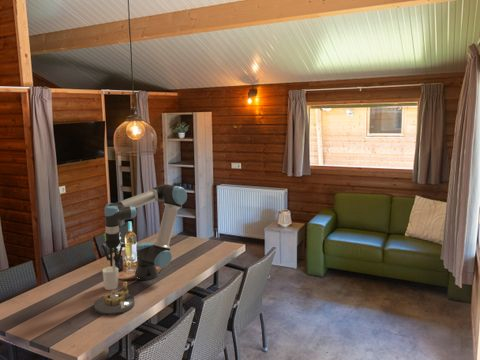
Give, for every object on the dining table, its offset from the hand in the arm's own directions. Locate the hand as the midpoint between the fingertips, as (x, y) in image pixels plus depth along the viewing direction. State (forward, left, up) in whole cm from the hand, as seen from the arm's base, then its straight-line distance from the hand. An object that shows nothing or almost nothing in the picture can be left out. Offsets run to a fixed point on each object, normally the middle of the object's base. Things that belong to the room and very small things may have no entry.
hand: (114, 270), depth 242 cm
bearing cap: (+8, +6, -18) cm, 20 cm away
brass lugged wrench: (+5, +6, -14) cm, 16 cm away
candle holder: (-12, -13, -18) cm, 25 cm away
